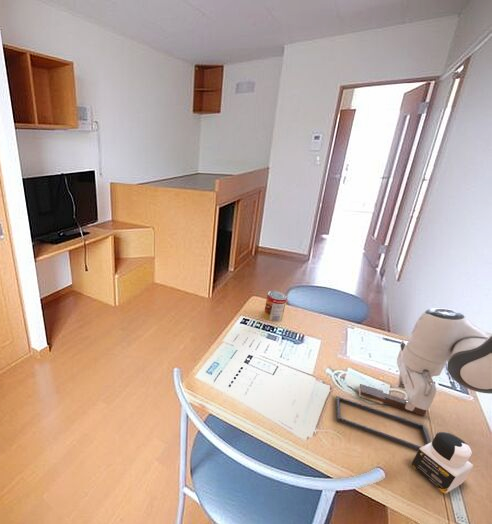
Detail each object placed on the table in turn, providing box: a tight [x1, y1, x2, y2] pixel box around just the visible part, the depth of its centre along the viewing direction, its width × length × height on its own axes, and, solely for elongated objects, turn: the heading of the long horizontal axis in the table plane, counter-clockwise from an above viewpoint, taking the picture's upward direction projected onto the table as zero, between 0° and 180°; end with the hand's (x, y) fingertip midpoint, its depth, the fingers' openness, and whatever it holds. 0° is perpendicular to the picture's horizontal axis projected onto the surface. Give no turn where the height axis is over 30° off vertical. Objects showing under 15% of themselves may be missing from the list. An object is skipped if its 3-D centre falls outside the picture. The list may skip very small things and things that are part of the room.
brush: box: [357, 383, 427, 417], centre depth 93 cm, size 16×4×3 cm, turn 61°
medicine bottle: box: [410, 431, 474, 495], centre depth 72 cm, size 7×7×12 cm
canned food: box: [263, 290, 288, 323], centre depth 136 cm, size 8×8×12 cm
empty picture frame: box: [335, 395, 431, 452], centre depth 86 cm, size 21×9×2 cm, turn 61°
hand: (404, 397), depth 91 cm, fingers open, 8 cm apart
